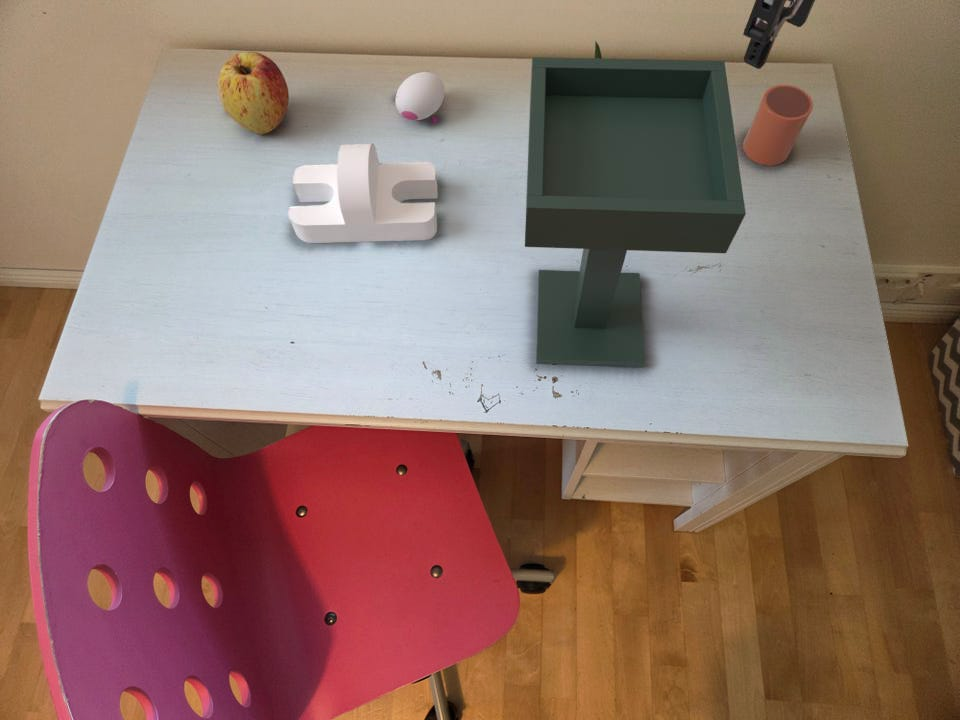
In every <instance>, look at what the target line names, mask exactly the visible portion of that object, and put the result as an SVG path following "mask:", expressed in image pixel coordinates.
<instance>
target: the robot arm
mask: <svg viewBox="0 0 960 720" xmlns="http://www.w3.org/2000/svg"><path fill="white" fill-rule="evenodd" d="M786 2H790V3H789V5H788V6H785V4H786ZM815 2H816V0H755V1H754V4H753V7H752V9H751V12H750V15H749V17H748V19H747V23H746V24H745V27H744V29H743V34H742V35H743V36H745V37H747V38H749V39H750V40H749V43H748V44H747V48H746V51H745V54H744V56H743V61H744V63H745V64H747V65H748V66H751V67H752V68H755V69H758V70H760V69H762V68H763V67H764V66H765V65H766V63H767V61H768V58H769V56H770V53H771V51H772V48H773V45H774V43H775V41H776V39H777V37H778V35H779V33H780V31H781V29H782V28H783V26H784V24H785V22H786V23H788V24H790V25H793V26H795V27H797V28H801V27H803V26H804V24H805V23H806V22H807V20H808V18H809V16H810V13H811V11H812V9H813V6H814V4H815Z"/></svg>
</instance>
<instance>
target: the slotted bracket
mask: <svg viewBox="0 0 960 720" xmlns="http://www.w3.org/2000/svg"><path fill="white" fill-rule="evenodd" d="M436 171H437V170H436V167H435V165H434V164H433V163H432V162H430V161H402V162H401V161H400V162H399V161H398V162H380V160H379V155H378V151H377V147H376V145H375V144H374V143H348V144H347V143H345V144H340V146H339V149H338V153H337V161H336V163H332V164H331V163H330V164H329V163H327V164H326V163H325V164H303V165H300V166H298V167H297V168H296V169H295V170H294V171H293V177H292V186H293V189H294V192H295V194H296V196H297V199H298V201H299V203H321V202H323V203H324V202H325V203H324V204H318V205H293V206H292V205H291V206H289V207H288V213H287V216H288V219H289V221H290V223H291V225H292V228H293V230H294V233H295V234H296V236H297V238H298V239H300V240H301V241H303V242H305V243H308V244H330V243H331V244H332V243H337V244H338V243H369V242H370V243H372V242H375V243H376V242H405V241H407V242H409V241H411V242H412V241H413V242H414V241H429V240H431V239H433V238H434V237H435V236H436V234H437V231H438V218H437V209H436V203H435V202H434V201H433V202H404V201H407V200H430V199H431V200H433V199H439V197H438V195H439V193H438V192H439V191H438V190H439V188H438V179H437V172H436Z"/></svg>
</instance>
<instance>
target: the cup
mask: <svg viewBox="0 0 960 720" xmlns="http://www.w3.org/2000/svg"><path fill="white" fill-rule="evenodd" d="M813 108H814V103H813V100H812V98H811V96H810V95H809V94H808V93H807V92H806V91H805V90H804V89H802V88H800V87H797V86H795V85H790V84H778V85H774V86H772V87H770V88H768V89H767V90H766V91H765V92H764V94H763V96H762V98H761V101H760V103H759V105H758V107H757V110H756V112H755V113H754V114H755V115H754V116H753V119H752V121H751V124H750V126H749V128H748V131H747V133H746V135H745V137H744V140H743V142H742V148H743V152H744V154H745V156H746V157H747V158H748V159H749V160H751V161H752V162H754V163H756V164H758V165H761V166H766V167H767V166H769V167H770V166H771V167H772V166H778V165H780V164H782V163H783V162H785V161H786V160H787V159H788V157H789V155H790V153H791V152H792V150H793V147H794V146H795V143H796V142H797V140H798V138H799V136H800V134H801V133H802V130H803V128H804V126H805V125H806V123H807V121H808V118H809V117H810V115H811V113H812V111H813Z"/></svg>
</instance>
